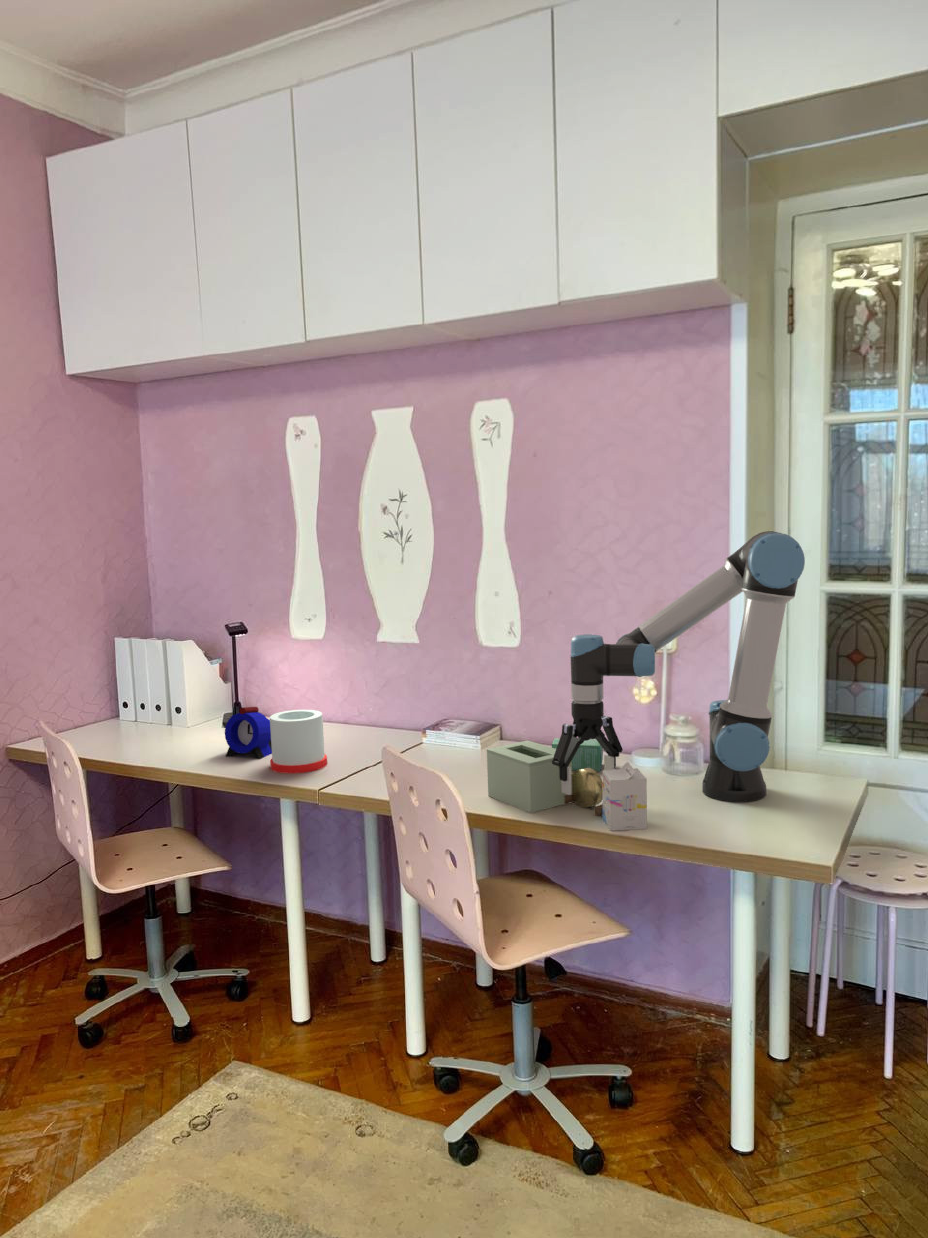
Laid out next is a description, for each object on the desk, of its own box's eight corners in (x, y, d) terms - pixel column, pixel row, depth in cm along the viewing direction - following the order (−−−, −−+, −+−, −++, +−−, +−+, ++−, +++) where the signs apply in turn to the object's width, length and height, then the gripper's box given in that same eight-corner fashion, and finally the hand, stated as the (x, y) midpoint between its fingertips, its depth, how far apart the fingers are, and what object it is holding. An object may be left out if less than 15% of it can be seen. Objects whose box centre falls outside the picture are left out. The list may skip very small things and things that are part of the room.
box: (601, 771, 256) (601, 744, 255) (551, 770, 258) (550, 744, 258) (603, 764, 263) (602, 738, 262) (554, 763, 266) (553, 737, 265)
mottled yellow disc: (581, 804, 232) (576, 767, 232) (606, 806, 224) (600, 768, 224) (572, 806, 230) (566, 769, 230) (597, 808, 222) (591, 770, 223)
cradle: (618, 811, 223) (618, 802, 223) (599, 816, 220) (599, 808, 219) (579, 797, 234) (579, 789, 234) (561, 802, 231) (561, 794, 231)
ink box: (601, 818, 218) (600, 762, 217) (637, 816, 219) (637, 760, 217) (610, 831, 210) (609, 772, 208) (648, 829, 210) (647, 770, 209)
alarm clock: (223, 757, 284) (220, 708, 282) (247, 747, 295) (244, 699, 293) (258, 760, 279) (255, 710, 278) (281, 749, 291) (278, 701, 289)
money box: (572, 801, 231) (571, 753, 230) (530, 813, 224) (529, 763, 222) (529, 785, 245) (527, 740, 244) (488, 796, 238) (486, 749, 236)
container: (259, 770, 268) (255, 719, 267) (292, 756, 283) (289, 707, 281) (306, 775, 262) (303, 723, 260) (338, 760, 276) (335, 711, 274)
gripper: (615, 691, 234) (615, 774, 236) (536, 705, 220) (537, 794, 222) (636, 695, 228) (637, 781, 230) (557, 711, 214) (558, 802, 216)
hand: (588, 788), depth 226 cm, fingers open, 13 cm apart
